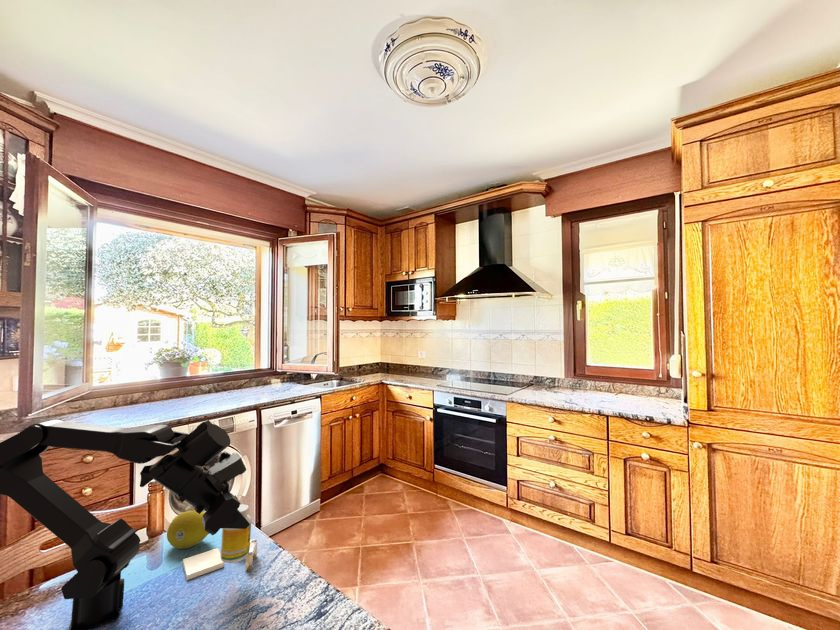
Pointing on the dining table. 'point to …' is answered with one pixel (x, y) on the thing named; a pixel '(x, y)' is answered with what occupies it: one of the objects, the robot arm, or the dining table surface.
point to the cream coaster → (202, 563)
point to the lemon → (186, 530)
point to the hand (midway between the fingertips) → (244, 520)
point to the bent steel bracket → (251, 555)
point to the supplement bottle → (236, 540)
